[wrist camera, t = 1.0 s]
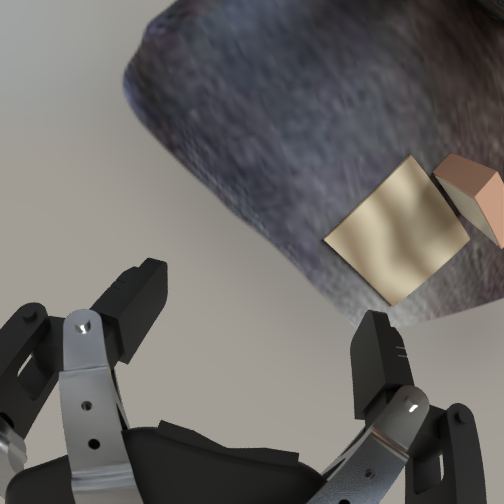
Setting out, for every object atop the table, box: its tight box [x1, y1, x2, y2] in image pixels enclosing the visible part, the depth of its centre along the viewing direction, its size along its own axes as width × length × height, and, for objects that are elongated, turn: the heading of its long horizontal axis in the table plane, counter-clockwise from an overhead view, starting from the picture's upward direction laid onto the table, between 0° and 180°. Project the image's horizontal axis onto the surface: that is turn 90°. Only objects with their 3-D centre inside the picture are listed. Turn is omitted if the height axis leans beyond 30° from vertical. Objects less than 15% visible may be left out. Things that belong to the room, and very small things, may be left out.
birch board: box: [324, 155, 470, 307], centre depth 35 cm, size 16×16×1 cm
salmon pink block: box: [433, 153, 504, 249], centre depth 26 cm, size 4×8×11 cm, turn 51°
